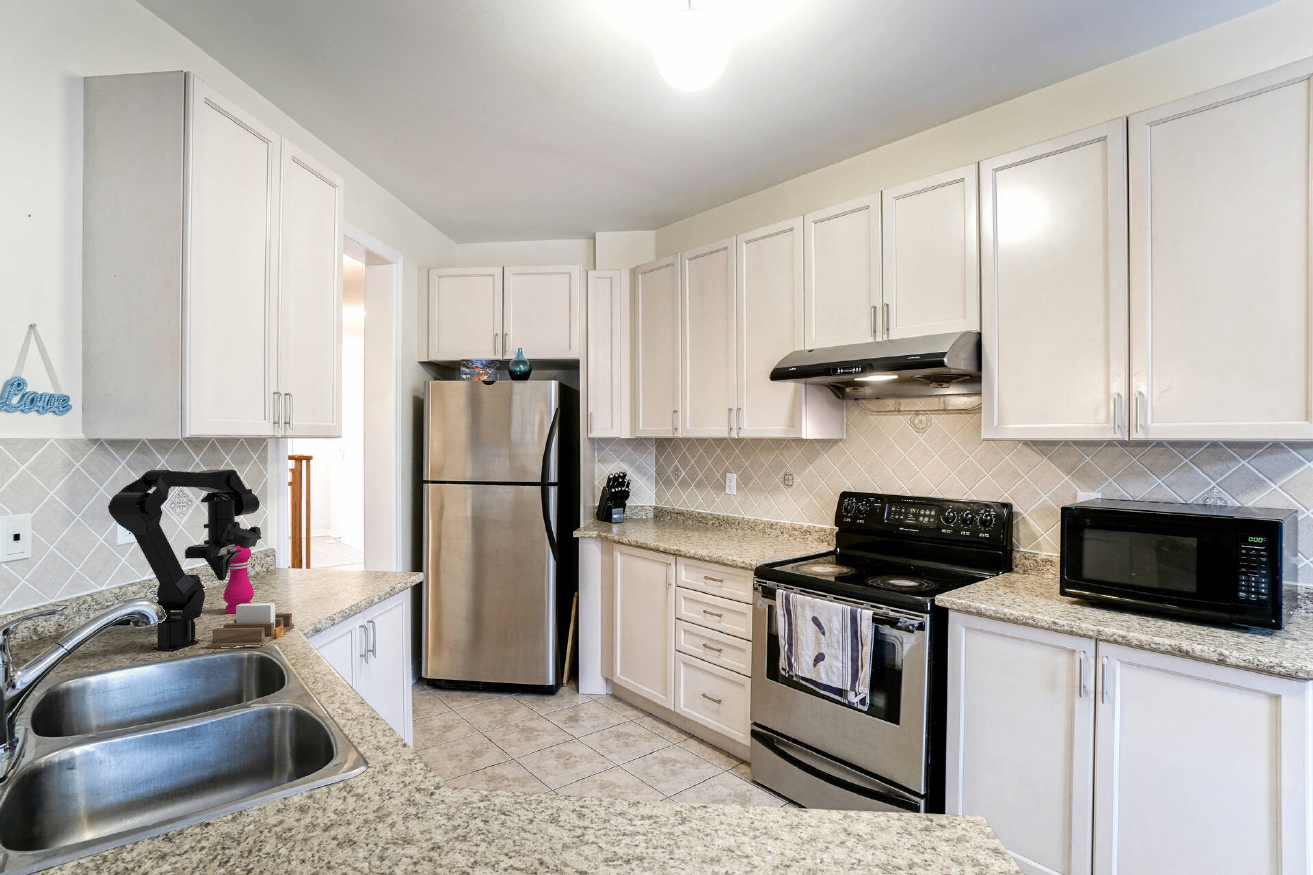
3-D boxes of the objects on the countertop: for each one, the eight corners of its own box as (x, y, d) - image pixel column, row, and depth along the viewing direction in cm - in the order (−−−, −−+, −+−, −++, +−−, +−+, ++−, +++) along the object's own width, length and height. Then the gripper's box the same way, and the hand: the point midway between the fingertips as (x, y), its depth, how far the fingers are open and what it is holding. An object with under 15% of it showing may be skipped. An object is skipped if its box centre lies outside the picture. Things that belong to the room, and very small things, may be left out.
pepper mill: (260, 607, 186) (259, 537, 186) (241, 614, 179) (241, 541, 179) (236, 607, 187) (236, 537, 187) (217, 614, 180) (216, 541, 180)
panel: (270, 634, 157) (270, 605, 157) (236, 635, 157) (236, 605, 157) (275, 631, 159) (275, 603, 159) (241, 632, 159) (241, 603, 159)
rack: (261, 647, 150) (261, 630, 150) (209, 648, 150) (209, 631, 150) (296, 627, 166) (296, 611, 166) (249, 628, 166) (249, 612, 166)
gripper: (229, 523, 157) (230, 588, 157) (274, 514, 176) (275, 572, 176) (182, 524, 157) (183, 589, 157) (232, 514, 176) (233, 572, 176)
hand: (222, 580), depth 166 cm, fingers closed
